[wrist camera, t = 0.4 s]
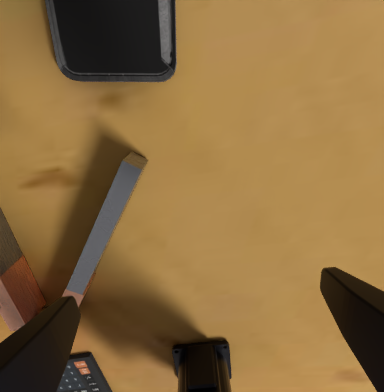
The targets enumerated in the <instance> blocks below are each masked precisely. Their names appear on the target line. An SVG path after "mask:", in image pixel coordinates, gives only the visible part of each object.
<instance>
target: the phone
mask: <svg viewBox="0 0 384 392" xmlns="http://www.w3.org/2000/svg"><path fill="white" fill-rule="evenodd" d="M45 3H46V9H47V14H48V19H49V24H50V30H51V35H52V40H53V45H54V51H55V56H56V61H57V64H58V67H59V69H60V70H61V72H62V73H63V74H64V75H65V76H66V77H68V78H70V79H72V80H76V81H82V82H164V81H167V80H168V79H170V78H171V77H172V76H173V75H174V72H175V70H176V64H177V61H176V9H175V0H45Z"/></svg>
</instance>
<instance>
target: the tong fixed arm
mask: <svg viewBox="0 0 384 392" xmlns="http://www.w3.org/2000/svg"><path fill="white" fill-rule="evenodd" d="M45 304H46V301H45V299H44V297H43V295H42V293H41V291H40V289H39V287H38V285H37V283H36V280H35V278H34V276H33V274H32V272H31V270H30V268H29V266H28V264H27V262H26V259H25V257H24V255H23V254H22V252H21V250H20V248H19V246H18V244H17V242H16V240H15V238H14V235H13V233H12V231H11V229H10V227H9V225H8V223H7V221H6V219H5V217H4V214H3V212H2V210H1V208H0V314H1V316H2V317H3V319H4V321H5V322H6V324H7V326H8V327H9V329H10V331H16V330H18V329H19V328H21V327H22V326H23V325H25V324H26V323H27V322H29V321H30V320H31V319H33V318H34V317H35V316H36V315H38V314H39V312H40V311H41V309H42V308H43V307H44V305H45Z"/></svg>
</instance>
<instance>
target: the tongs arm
mask: <svg viewBox="0 0 384 392" xmlns="http://www.w3.org/2000/svg"><path fill="white" fill-rule="evenodd" d="M147 162H148V160H147V159H145V158H143V157H141V156H139V155H138V154H136V153H134V152H131V153H130V154H129V155H128V156H127V157H125V158H124V159H123V160H122V163H121V165H120V167H119V169H118V172H117V174H116V176H115V178H114V181H113V183H112V185H111V188H110V190H109V192H108V194H107V197H106V199H105V201H104V204H103V206H102V208H101V210H100V213H99V215H98V217H97V219H96V222H95V224H94V226H93V229H92V231H91V233H90V235H89V238H88V240H87V242H86V245H85V247H84V249H83V251H82V254H81V256H80V258H79V260H78V263H77V265H76V267H75V270H74V272H73V274H72V276H71V279H70V281H69V283H68V286H67V287H66V289H65V291H64V293H63V295H62V297H63V296H74V297H75V299H76V302H77V305H78V307H80V304H81V302H82V300H83V298H84V296H85V294H86V292H87V290H88V288H89V286H90V284H91V282H92V280H93V278H94V276H95V273H94V272H95V270H96V268H97V266H98V264H99V261H100V259H101V257H102V255H103V253H104V251H105V249H106V247H107V245H108V243H109V241H110V239H111V237H112V234H113V232H114V230H115V228H116V226H117V224H118V222H119V220H120V218H121V216H122V214H123V212H124V210H125V207H126V205H127V203H128V201H129V199H130V197H131V195H132V193H133V191H134V189H135V187H136V185H137V182H138V180H139V178H140V176H141V174H142V172H143V170H144V168H145V166H146V164H147ZM45 309H46V308H45ZM43 310H44V309H42V310H41V311H40V312H42V311H43ZM40 312H39V313H40Z"/></svg>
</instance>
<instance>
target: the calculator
mask: <svg viewBox="0 0 384 392" xmlns="http://www.w3.org/2000/svg"><path fill="white" fill-rule="evenodd" d="M56 392H112V390H111V388H110V386H109V385H108V383H107V381H106V379H105V377H104V375H103V373H102V371H101V370H100V368H99V366H98V364H97V362H96V360H95V358H94V357H93V355H92V353H91V352H90V353H83V354H76V355H70V356H69V359H68V362H67V365H66V368H65V371H64V373H63V376H62V379H61V381H60V384H59V386H58V389H57V391H56Z"/></svg>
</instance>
